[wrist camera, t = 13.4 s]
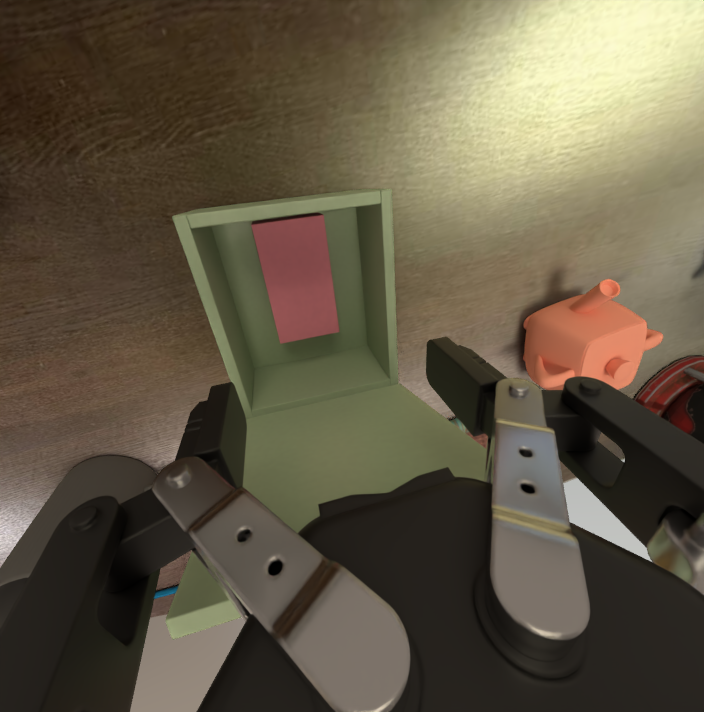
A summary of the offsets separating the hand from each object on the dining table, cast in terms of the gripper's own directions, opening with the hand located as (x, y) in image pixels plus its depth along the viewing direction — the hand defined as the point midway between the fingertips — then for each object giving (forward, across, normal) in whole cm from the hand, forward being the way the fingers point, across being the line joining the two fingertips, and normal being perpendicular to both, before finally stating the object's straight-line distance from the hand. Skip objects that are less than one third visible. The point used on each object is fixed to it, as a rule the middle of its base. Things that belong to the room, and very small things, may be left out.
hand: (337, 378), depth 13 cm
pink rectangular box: (+18, 0, 0) cm, 18 cm away
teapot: (+19, -30, +13) cm, 38 cm away
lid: (+3, 0, +7) cm, 7 cm away
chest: (+19, 0, +2) cm, 19 cm away
